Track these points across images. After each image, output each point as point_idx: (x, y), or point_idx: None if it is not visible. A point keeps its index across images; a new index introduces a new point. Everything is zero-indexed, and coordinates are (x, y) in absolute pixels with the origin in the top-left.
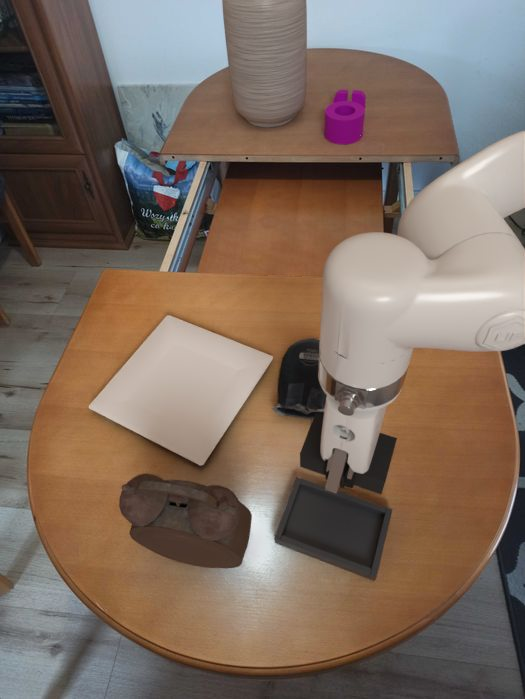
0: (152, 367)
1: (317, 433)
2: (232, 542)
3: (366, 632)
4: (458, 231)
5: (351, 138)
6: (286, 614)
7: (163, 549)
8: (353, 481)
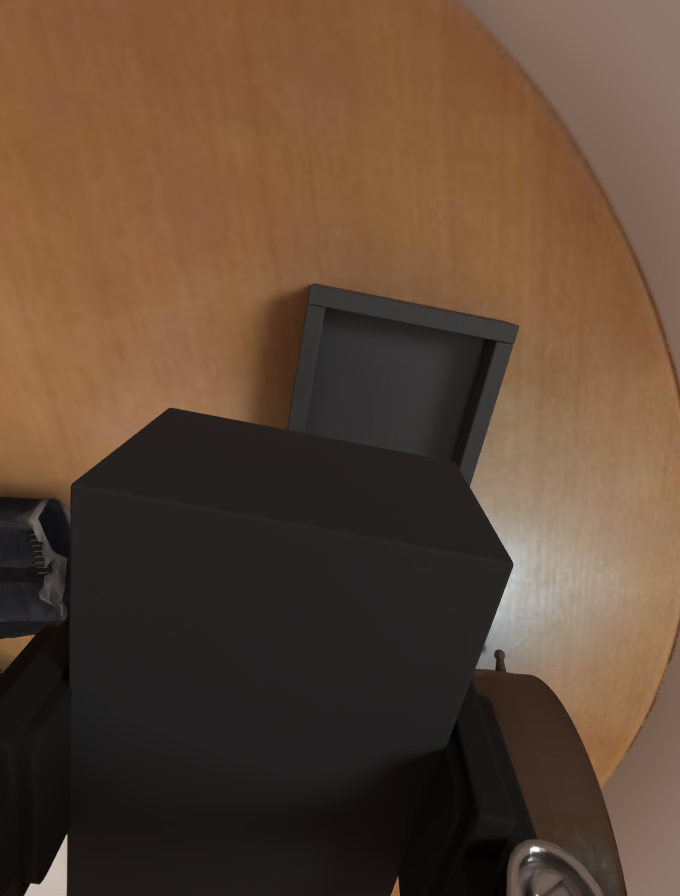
0: (66, 873)
1: None
2: (591, 831)
3: (628, 335)
4: None
5: None
6: (588, 519)
7: None
8: (474, 697)
